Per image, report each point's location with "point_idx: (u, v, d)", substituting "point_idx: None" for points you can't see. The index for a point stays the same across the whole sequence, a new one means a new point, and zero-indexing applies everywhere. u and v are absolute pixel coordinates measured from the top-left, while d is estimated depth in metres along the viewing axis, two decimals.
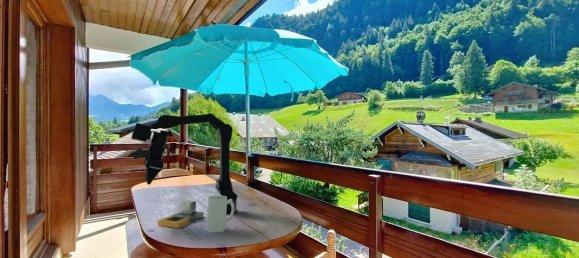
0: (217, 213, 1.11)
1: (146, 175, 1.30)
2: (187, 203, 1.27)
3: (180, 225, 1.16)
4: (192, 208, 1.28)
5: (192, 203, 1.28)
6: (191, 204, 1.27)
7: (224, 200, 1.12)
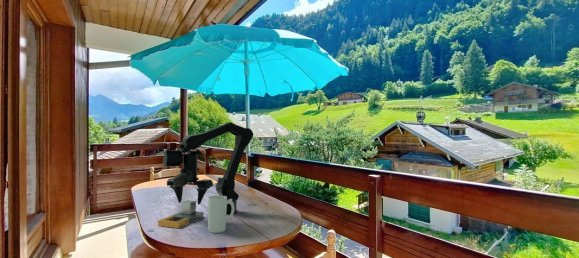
0: (217, 213, 1.11)
1: (178, 197, 1.30)
2: (187, 203, 1.27)
3: (180, 225, 1.16)
4: (192, 208, 1.28)
5: (192, 203, 1.28)
6: (191, 204, 1.27)
7: (224, 200, 1.12)
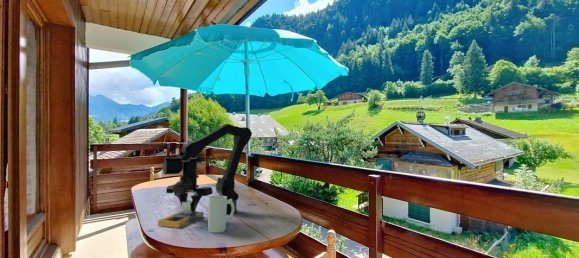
0: (217, 213, 1.11)
1: None
2: (187, 203, 1.27)
3: (180, 225, 1.16)
4: None
5: None
6: (191, 204, 1.27)
7: (224, 200, 1.12)
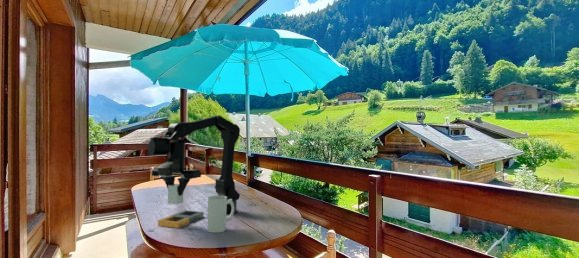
0: (217, 213, 1.11)
1: None
2: (173, 186, 1.19)
3: (180, 225, 1.16)
4: (178, 192, 1.19)
5: None
6: (178, 187, 1.19)
7: (224, 200, 1.12)
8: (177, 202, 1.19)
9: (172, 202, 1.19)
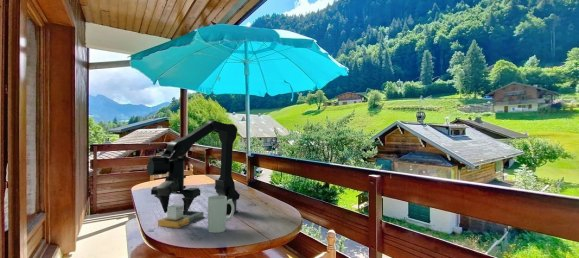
0: (217, 213, 1.11)
1: (164, 207, 1.21)
2: (173, 208, 1.18)
3: (180, 225, 1.16)
4: (178, 213, 1.19)
5: (178, 208, 1.19)
6: (177, 209, 1.19)
7: (224, 200, 1.12)
8: None
9: None
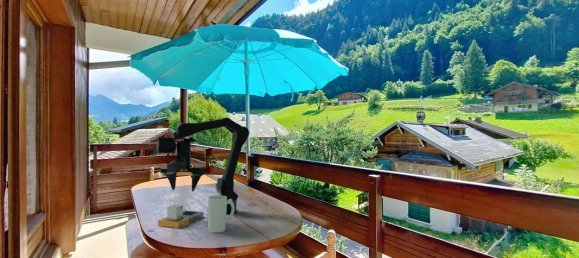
0: (217, 213, 1.11)
1: (172, 185, 1.30)
2: (173, 208, 1.18)
3: (180, 225, 1.16)
4: (178, 213, 1.19)
5: (178, 208, 1.19)
6: (177, 209, 1.19)
7: (224, 200, 1.12)
8: None
9: None
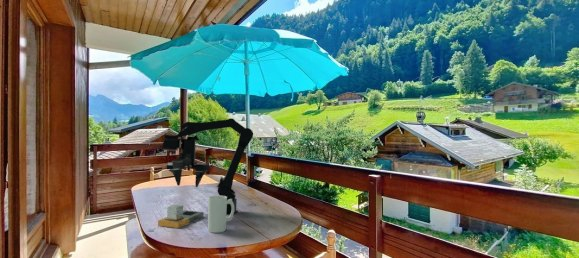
0: (217, 213, 1.11)
1: (177, 181, 1.37)
2: (173, 208, 1.18)
3: (180, 225, 1.16)
4: (178, 213, 1.19)
5: (178, 208, 1.19)
6: (177, 209, 1.19)
7: (224, 200, 1.12)
8: None
9: None
